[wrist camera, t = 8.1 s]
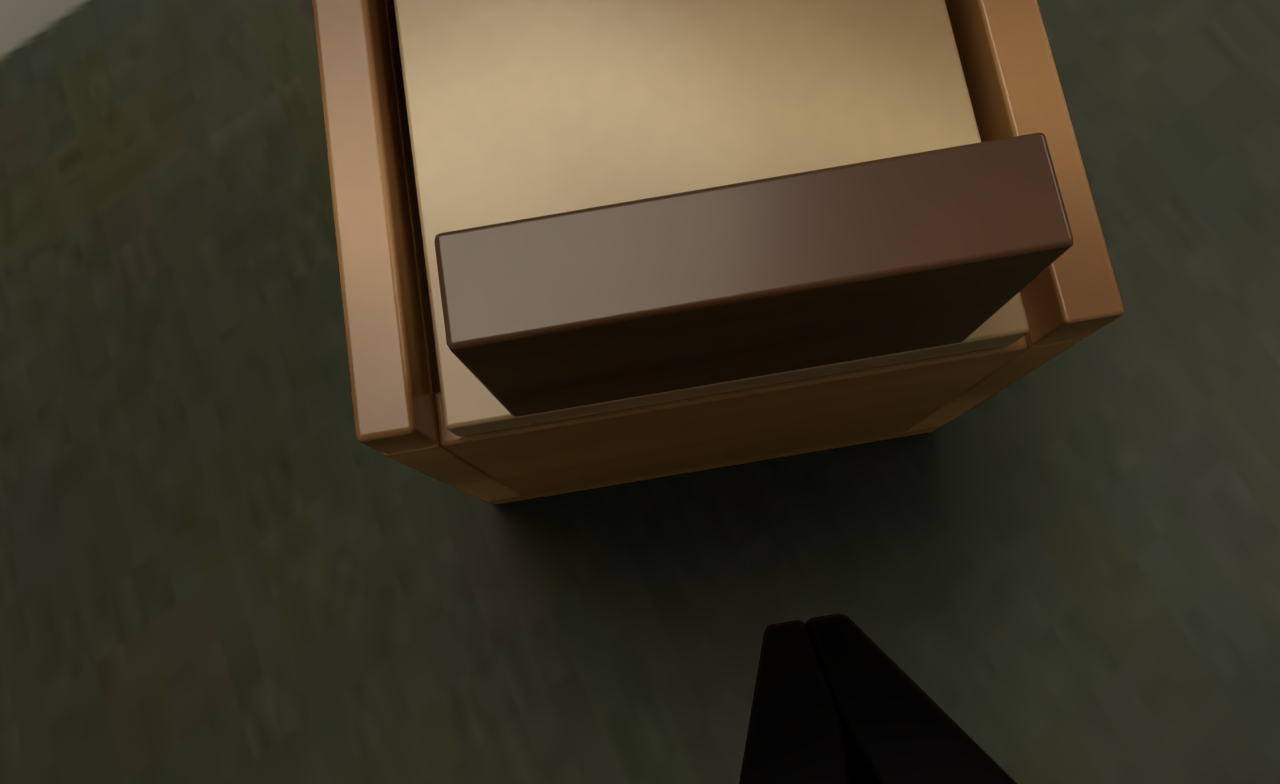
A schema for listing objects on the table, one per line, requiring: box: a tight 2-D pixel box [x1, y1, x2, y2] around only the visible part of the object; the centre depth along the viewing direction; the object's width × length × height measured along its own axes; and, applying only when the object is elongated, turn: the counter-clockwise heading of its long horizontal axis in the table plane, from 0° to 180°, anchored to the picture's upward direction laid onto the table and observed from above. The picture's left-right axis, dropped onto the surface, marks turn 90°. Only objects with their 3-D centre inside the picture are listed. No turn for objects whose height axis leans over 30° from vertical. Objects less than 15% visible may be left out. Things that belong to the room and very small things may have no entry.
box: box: [312, 0, 1124, 505], centre depth 18 cm, size 12×10×9 cm
